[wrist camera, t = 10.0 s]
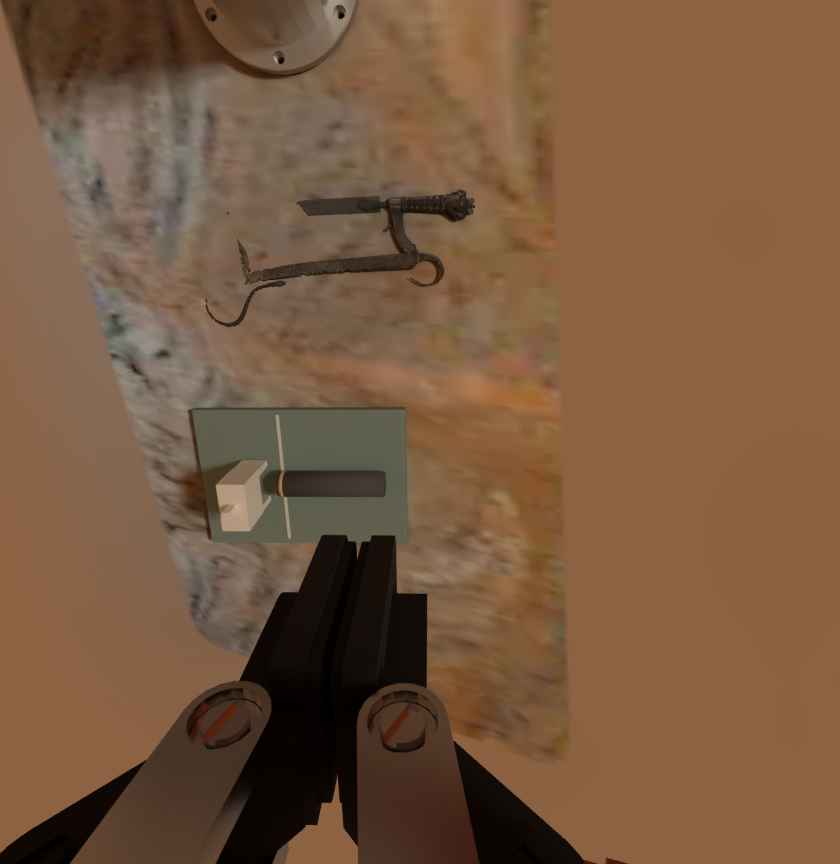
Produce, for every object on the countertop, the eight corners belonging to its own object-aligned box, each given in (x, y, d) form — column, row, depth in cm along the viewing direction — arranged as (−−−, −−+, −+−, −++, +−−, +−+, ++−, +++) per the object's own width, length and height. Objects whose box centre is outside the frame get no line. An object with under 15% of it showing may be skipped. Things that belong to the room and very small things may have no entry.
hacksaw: (474, 190, 41) (475, 187, 39) (474, 317, 44) (476, 318, 42) (189, 204, 41) (181, 201, 40) (210, 327, 45) (202, 329, 43)
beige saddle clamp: (241, 459, 47) (207, 492, 40) (266, 459, 47) (236, 492, 39) (247, 500, 48) (214, 540, 41) (271, 501, 48) (243, 540, 41)
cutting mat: (195, 407, 46) (191, 410, 46) (405, 407, 46) (405, 409, 45) (215, 538, 51) (212, 542, 50) (407, 538, 50) (407, 543, 49)
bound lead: (282, 467, 47) (274, 477, 45) (385, 467, 47) (383, 477, 45) (284, 490, 48) (277, 501, 46) (386, 490, 48) (383, 502, 45)
